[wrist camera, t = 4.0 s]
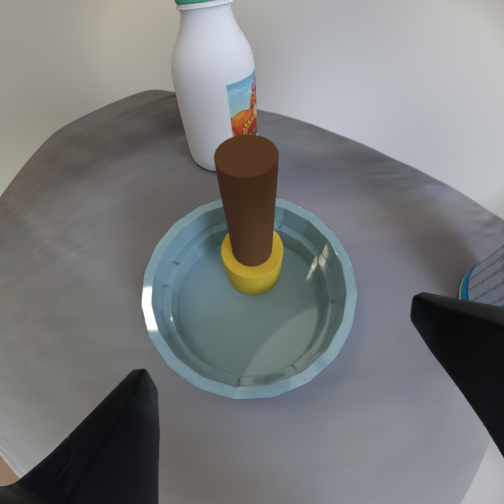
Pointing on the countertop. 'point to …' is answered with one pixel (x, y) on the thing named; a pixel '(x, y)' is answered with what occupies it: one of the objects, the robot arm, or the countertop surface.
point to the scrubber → (249, 212)
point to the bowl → (248, 305)
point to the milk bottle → (213, 77)
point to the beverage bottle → (485, 281)
